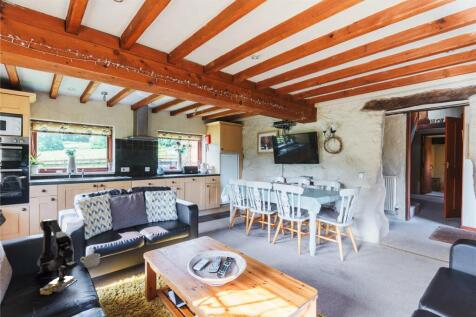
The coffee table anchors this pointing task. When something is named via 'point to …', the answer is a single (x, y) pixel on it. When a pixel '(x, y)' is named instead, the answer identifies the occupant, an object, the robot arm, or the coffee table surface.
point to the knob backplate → (57, 285)
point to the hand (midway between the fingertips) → (61, 277)
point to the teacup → (91, 260)
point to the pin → (61, 273)
